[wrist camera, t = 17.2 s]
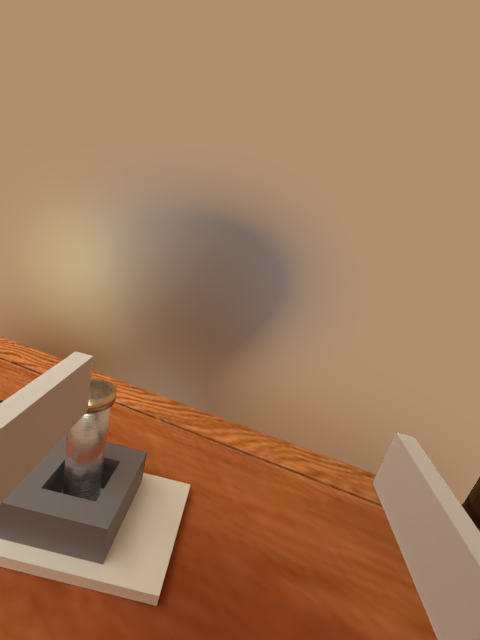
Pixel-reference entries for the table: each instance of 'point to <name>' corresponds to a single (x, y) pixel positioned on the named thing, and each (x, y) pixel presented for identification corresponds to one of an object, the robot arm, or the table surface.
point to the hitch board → (126, 552)
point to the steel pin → (89, 444)
